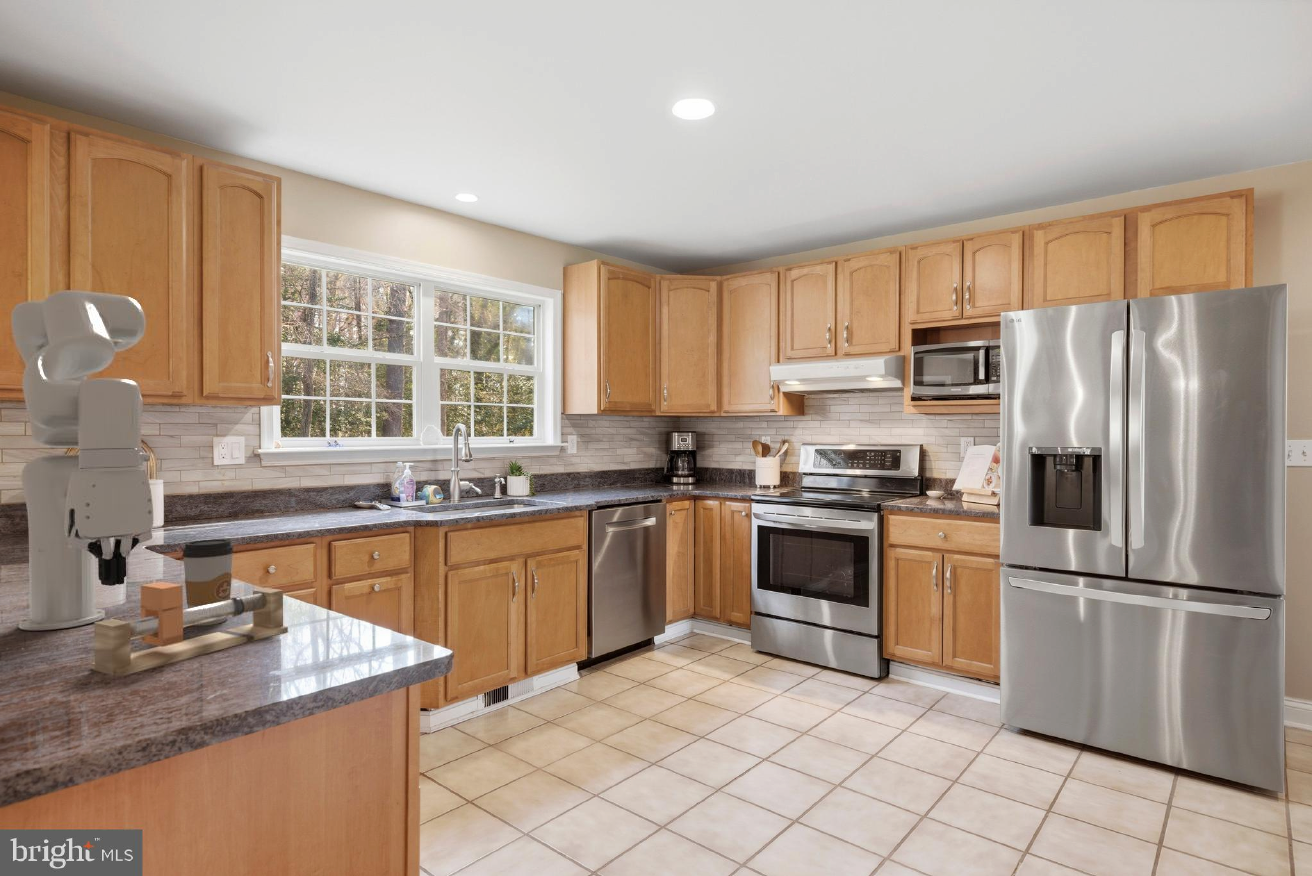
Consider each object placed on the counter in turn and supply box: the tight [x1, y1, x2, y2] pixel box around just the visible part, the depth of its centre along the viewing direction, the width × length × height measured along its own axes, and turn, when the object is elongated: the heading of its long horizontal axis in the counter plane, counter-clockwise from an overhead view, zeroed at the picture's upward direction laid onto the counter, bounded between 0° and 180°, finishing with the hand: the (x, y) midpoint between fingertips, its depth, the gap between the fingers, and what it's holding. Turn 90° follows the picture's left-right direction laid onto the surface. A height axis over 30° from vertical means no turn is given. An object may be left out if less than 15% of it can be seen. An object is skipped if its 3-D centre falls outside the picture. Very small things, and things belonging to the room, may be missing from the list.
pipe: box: [125, 593, 267, 640], centre depth 121 cm, size 25×3×3 cm, turn 152°
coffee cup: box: [181, 538, 235, 626], centre depth 138 cm, size 8×8×15 cm
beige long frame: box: [90, 587, 289, 677], centre depth 121 cm, size 27×8×7 cm, turn 152°
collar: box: [140, 581, 184, 647], centre depth 116 cm, size 3×6×9 cm, turn 63°
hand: (112, 584), depth 109 cm, fingers closed
